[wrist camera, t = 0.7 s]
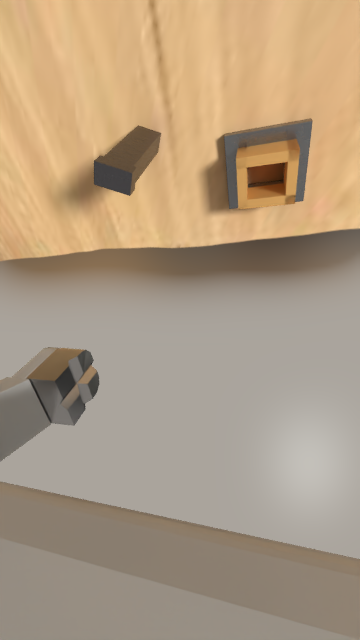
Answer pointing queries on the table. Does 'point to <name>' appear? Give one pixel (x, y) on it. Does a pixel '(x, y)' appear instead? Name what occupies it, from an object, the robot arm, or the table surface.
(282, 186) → the frame on grey plate
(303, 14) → the table surface
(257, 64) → the table surface
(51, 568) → the robot arm
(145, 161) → the tall dark grey post
